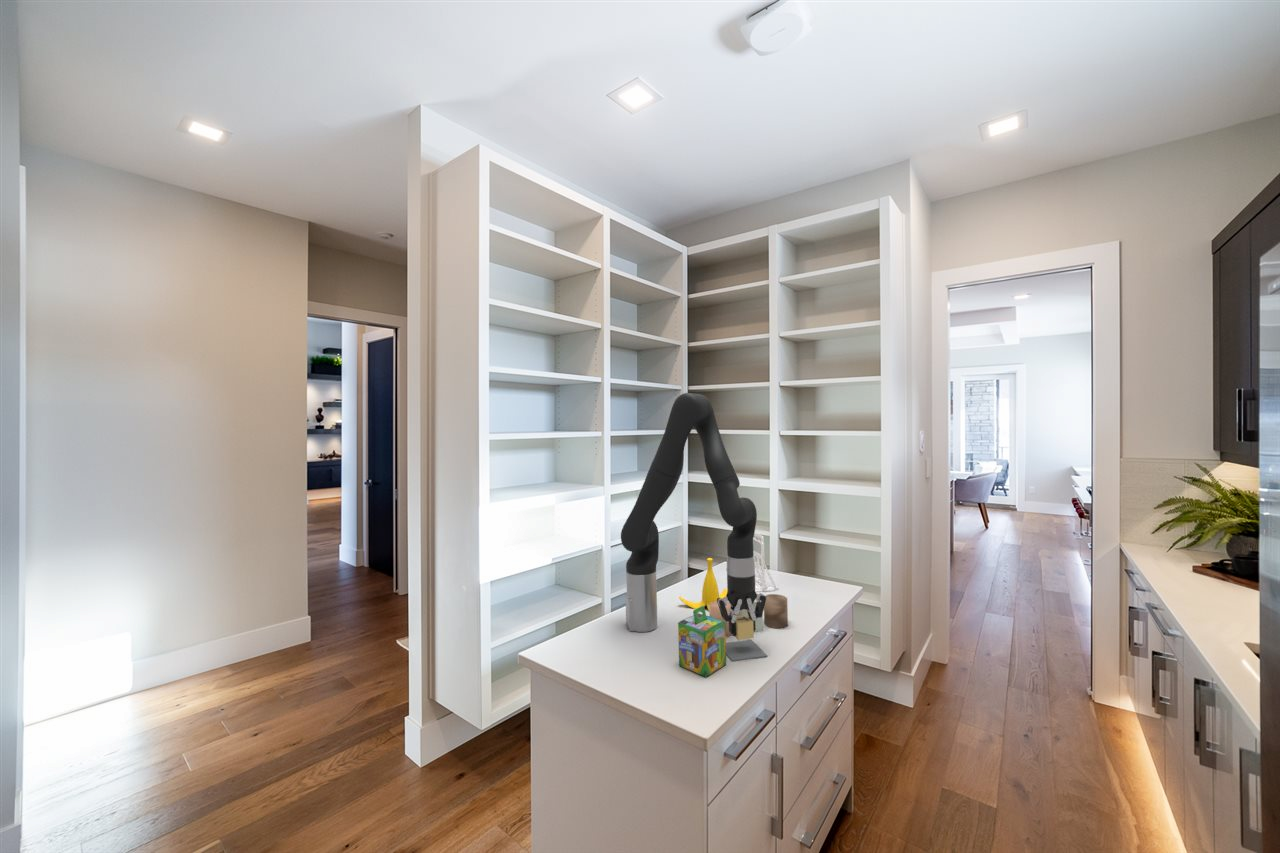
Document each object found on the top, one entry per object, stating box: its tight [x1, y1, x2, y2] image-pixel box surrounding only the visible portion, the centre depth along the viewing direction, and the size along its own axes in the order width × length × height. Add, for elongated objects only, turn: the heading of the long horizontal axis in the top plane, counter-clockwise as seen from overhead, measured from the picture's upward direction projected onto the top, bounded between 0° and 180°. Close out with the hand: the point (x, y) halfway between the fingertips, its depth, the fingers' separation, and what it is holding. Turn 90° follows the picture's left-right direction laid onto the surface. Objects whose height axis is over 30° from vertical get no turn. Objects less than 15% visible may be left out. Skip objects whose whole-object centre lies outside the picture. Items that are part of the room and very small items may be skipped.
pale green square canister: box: [737, 599, 764, 632], centre depth 156 cm, size 7×7×9 cm
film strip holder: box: [753, 532, 780, 593], centre depth 193 cm, size 14×14×20 cm
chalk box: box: [677, 606, 727, 678], centre depth 133 cm, size 9×9×15 cm
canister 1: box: [708, 601, 733, 638], centre depth 153 cm, size 7×7×8 cm
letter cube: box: [734, 615, 755, 641], centre depth 141 cm, size 4×4×5 cm
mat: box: [726, 639, 768, 662], centre depth 141 cm, size 10×10×1 cm
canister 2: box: [763, 593, 789, 630], centre depth 158 cm, size 7×7×8 cm
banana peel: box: [678, 557, 728, 612], centre depth 171 cm, size 17×19×17 cm
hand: (742, 633), depth 141 cm, fingers closed on letter cube, 4 cm apart
